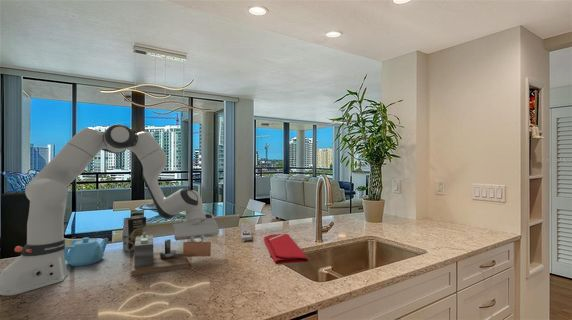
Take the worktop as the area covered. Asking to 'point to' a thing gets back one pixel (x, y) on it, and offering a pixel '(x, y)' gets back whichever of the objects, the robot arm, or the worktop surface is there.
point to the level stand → (153, 258)
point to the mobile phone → (245, 232)
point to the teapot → (85, 252)
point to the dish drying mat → (284, 249)
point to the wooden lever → (187, 250)
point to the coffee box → (133, 231)
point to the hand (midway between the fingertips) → (198, 245)
